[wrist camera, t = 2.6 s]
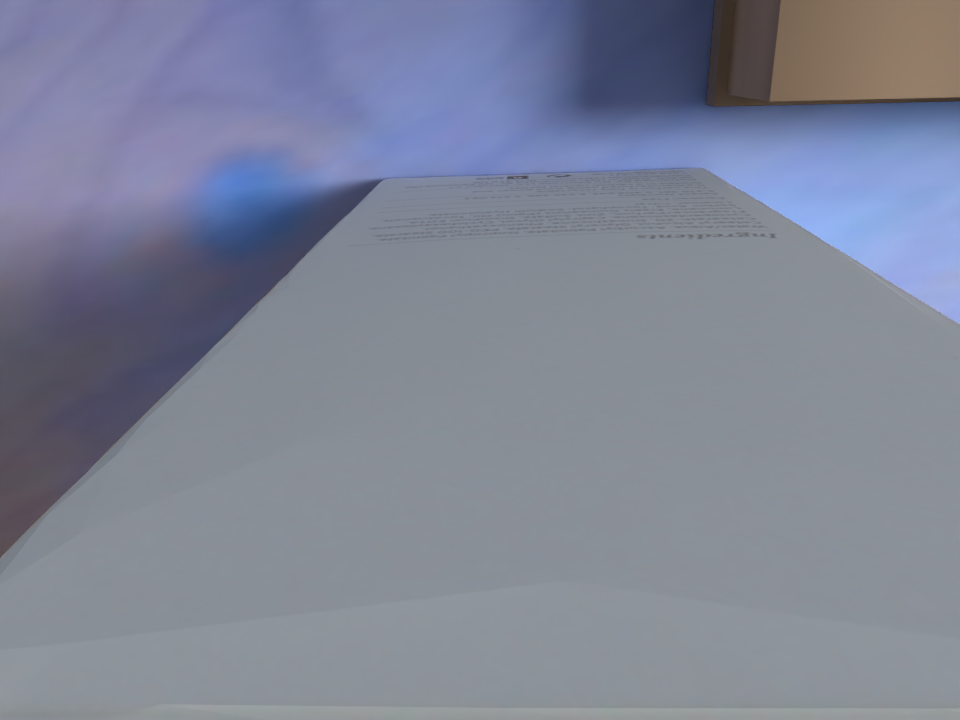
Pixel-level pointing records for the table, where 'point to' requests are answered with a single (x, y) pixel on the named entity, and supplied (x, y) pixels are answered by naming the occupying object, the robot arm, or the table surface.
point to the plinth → (834, 52)
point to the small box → (523, 481)
